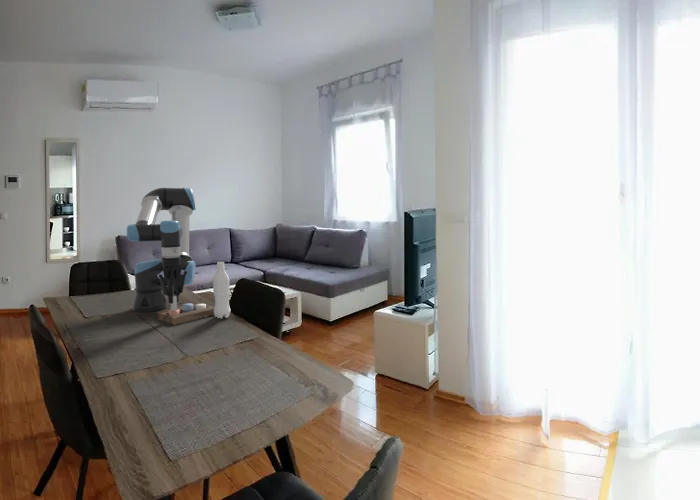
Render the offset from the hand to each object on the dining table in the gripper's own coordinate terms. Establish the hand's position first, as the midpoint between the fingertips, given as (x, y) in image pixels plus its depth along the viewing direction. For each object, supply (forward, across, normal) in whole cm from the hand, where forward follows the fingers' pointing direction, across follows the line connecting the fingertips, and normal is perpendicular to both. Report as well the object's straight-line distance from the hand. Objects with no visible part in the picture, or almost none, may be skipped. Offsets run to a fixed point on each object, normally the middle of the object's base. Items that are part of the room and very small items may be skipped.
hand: (174, 310), depth 180 cm
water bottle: (+5, +16, -13) cm, 21 cm away
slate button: (+3, +7, 0) cm, 7 cm away
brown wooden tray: (+4, +7, 0) cm, 8 cm away
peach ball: (+4, 0, 0) cm, 4 cm away
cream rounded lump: (+4, +13, 0) cm, 14 cm away
